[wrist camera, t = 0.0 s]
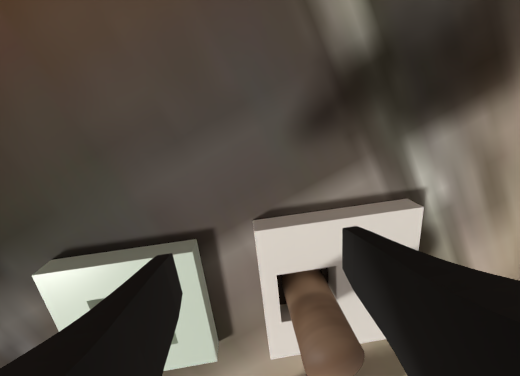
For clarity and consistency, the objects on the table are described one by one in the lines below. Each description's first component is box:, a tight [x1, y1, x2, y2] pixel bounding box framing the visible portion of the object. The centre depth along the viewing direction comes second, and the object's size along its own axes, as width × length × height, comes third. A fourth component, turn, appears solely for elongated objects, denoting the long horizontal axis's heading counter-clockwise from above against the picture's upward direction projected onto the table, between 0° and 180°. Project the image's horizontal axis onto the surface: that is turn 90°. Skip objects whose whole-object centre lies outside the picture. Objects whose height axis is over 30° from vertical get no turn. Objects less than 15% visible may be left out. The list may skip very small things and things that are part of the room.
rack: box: [32, 239, 219, 371], centre depth 21 cm, size 12×12×2 cm
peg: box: [282, 269, 364, 376], centre depth 19 cm, size 4×4×8 cm
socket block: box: [253, 199, 424, 359], centre depth 22 cm, size 14×14×2 cm
